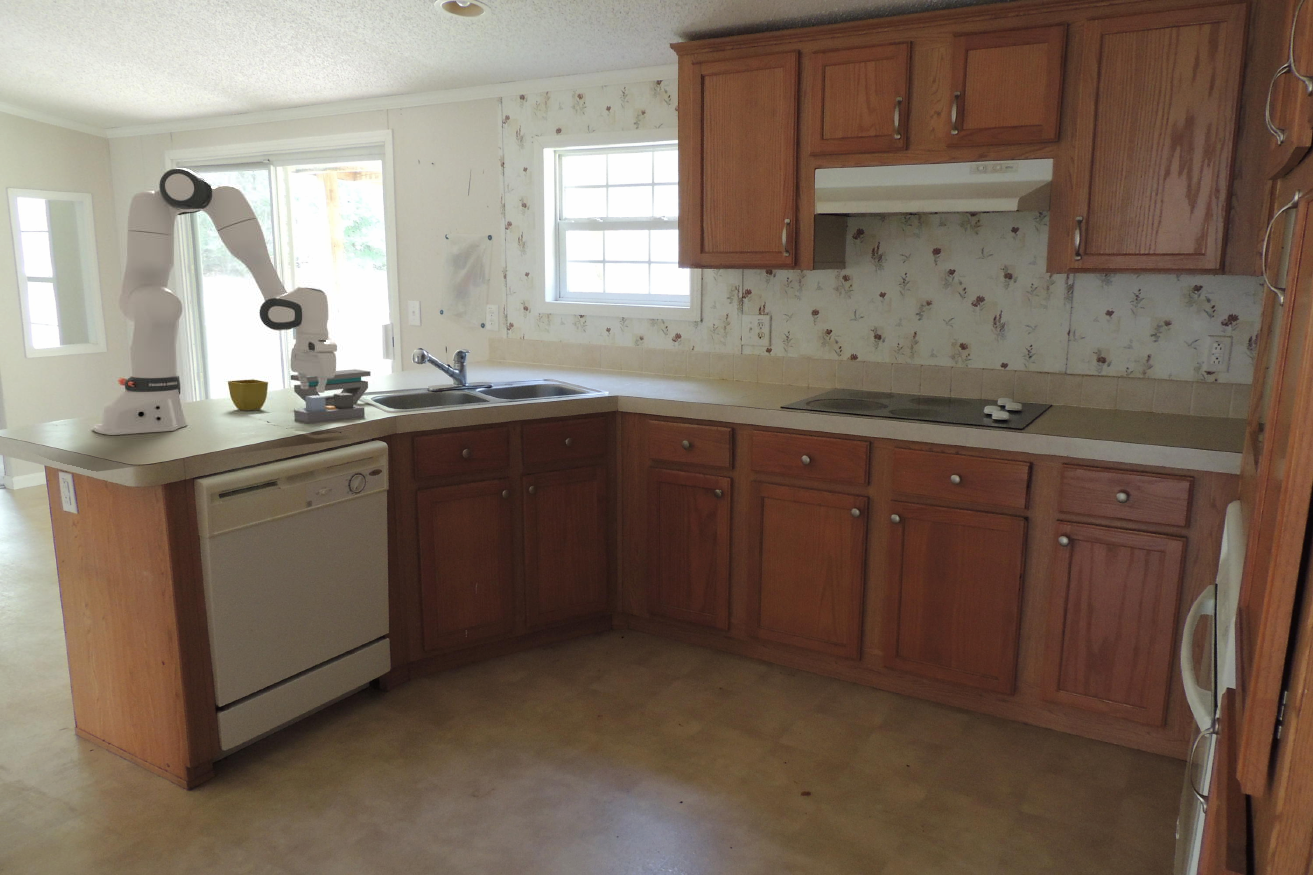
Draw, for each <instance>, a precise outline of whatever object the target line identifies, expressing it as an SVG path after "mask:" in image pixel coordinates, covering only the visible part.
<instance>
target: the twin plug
mask: <svg viewBox="0 0 1313 875" xmlns="http://www.w3.org/2000/svg"><path fill="white" fill-rule="evenodd" d="M333 395H334V407H336V408H337V409H347V408H353V394H349V393H341V392H340V393H338V392H337V393H333Z"/></svg>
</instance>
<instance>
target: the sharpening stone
mask: <svg viewBox="0 0 1313 875" xmlns="http://www.w3.org/2000/svg"><path fill="white" fill-rule="evenodd" d="M371 376H372V375H371V371H370V370H369V371H368V370H362V369H355V368H354V369H345V370H336V374H335V376H334V378H327V383H326V385H325V392H327V391H329V392H330V391H338V390H341V392H340V393H349V394H353V405H356V404H357V403H358V401H360V399H361V398H362V397H363V395H364V394H365V393H366V391H367V390H368V389H369V381H366V380H362V378H363V377H371ZM306 378H307V383H309V385H308V386H309V388H308V389H302V388H301V387H300V384H299V383H298V384H293V387H294V388H293V392H294V393H295V394H296V395H297V396H299V397H300V399H302V400H303V401H304V402H305V403H306V398H305V396H315V395H320V393H318V392H317V391H316V390H317V389H316V386H318V383H319V381H318V377H315V376H311V375H307V377H306ZM290 381H295V382H296V381H297V382H300V380H299V378H298V373H297V374H290ZM323 396H324V395H323ZM324 397H325V405H326V406H334V394H332V395H325V396H324Z"/></svg>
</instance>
